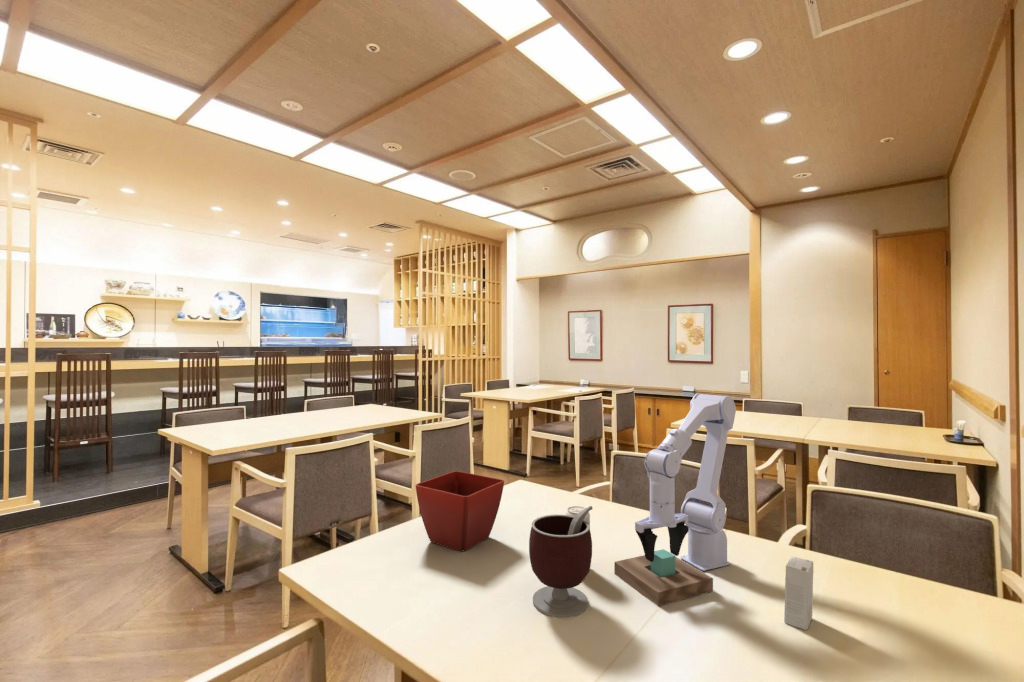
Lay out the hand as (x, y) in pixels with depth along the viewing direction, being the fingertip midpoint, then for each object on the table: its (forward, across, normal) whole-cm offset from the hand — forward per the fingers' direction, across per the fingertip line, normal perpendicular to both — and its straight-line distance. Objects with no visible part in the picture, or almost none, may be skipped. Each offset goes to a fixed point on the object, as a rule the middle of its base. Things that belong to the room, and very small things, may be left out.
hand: (662, 557), depth 115 cm
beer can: (+6, -15, +14) cm, 22 cm away
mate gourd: (+6, -26, +2) cm, 27 cm away
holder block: (+6, 0, 0) cm, 6 cm away
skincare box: (+6, +15, -24) cm, 29 cm away
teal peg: (+6, 0, 0) cm, 6 cm away
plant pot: (+6, -37, +43) cm, 57 cm away
